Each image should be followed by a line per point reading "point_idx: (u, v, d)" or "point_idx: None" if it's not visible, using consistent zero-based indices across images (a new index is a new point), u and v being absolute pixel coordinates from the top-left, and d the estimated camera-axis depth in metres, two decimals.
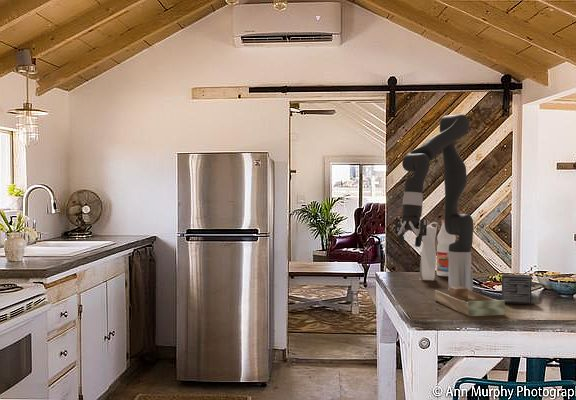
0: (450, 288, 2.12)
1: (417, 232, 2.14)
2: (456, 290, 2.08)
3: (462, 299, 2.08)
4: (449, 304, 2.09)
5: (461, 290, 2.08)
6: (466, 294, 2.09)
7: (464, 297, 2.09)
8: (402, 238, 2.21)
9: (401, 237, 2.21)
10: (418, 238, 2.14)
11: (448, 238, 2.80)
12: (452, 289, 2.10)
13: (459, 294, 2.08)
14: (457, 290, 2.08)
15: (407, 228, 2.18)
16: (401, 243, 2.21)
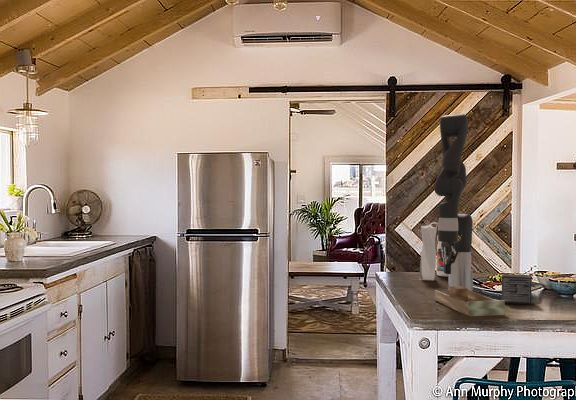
0: (450, 288, 2.12)
1: (446, 261, 2.17)
2: (456, 290, 2.08)
3: (462, 299, 2.08)
4: (449, 304, 2.09)
5: (461, 290, 2.08)
6: (466, 294, 2.09)
7: (464, 297, 2.09)
8: None
9: None
10: (447, 266, 2.18)
11: None
12: (452, 289, 2.10)
13: (459, 294, 2.08)
14: (457, 290, 2.08)
15: None
16: None
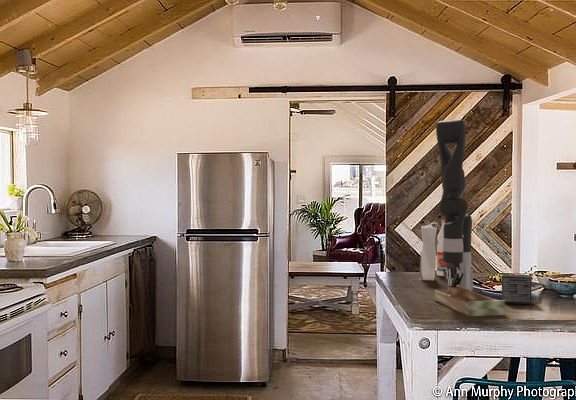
0: (451, 288, 2.11)
1: (451, 282, 2.13)
2: (457, 290, 2.07)
3: (463, 299, 2.08)
4: (449, 304, 2.09)
5: (462, 290, 2.08)
6: (467, 294, 2.08)
7: (465, 298, 2.08)
8: None
9: None
10: None
11: None
12: (453, 289, 2.09)
13: (460, 294, 2.07)
14: (458, 290, 2.07)
15: None
16: None
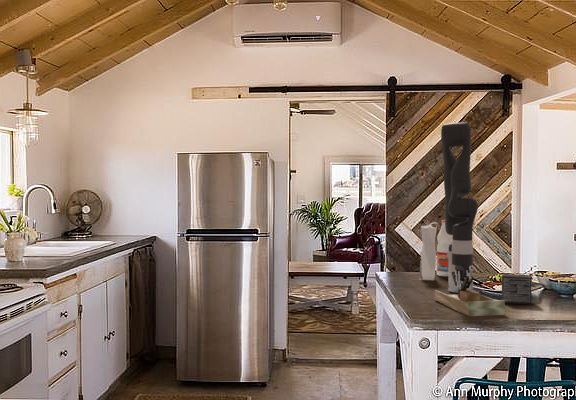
0: (461, 292, 2.04)
1: (460, 286, 2.06)
2: (467, 294, 2.00)
3: None
4: (449, 304, 2.09)
5: (473, 294, 2.00)
6: (478, 298, 2.00)
7: None
8: None
9: (461, 290, 2.08)
10: None
11: (448, 238, 2.80)
12: (463, 293, 2.02)
13: (470, 298, 2.00)
14: (468, 294, 2.00)
15: None
16: None
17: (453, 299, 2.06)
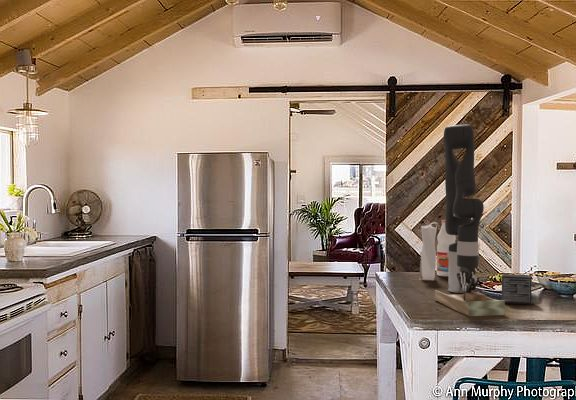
0: (466, 294, 2.00)
1: (466, 288, 2.02)
2: (473, 296, 1.96)
3: None
4: (449, 304, 2.09)
5: (478, 296, 1.96)
6: None
7: None
8: None
9: (466, 292, 2.04)
10: None
11: (448, 238, 2.80)
12: (469, 295, 1.98)
13: None
14: (474, 296, 1.96)
15: None
16: None
17: (453, 299, 2.06)
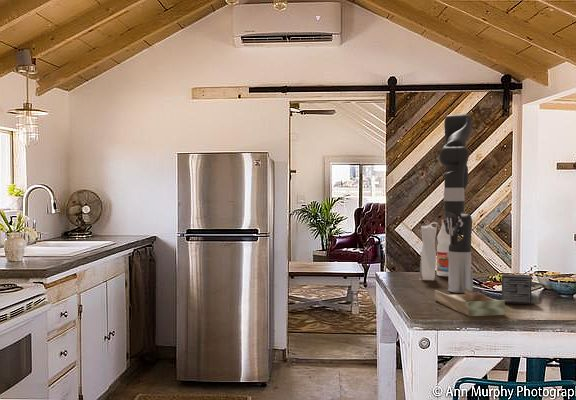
0: (466, 294, 2.00)
1: (452, 232, 2.11)
2: (473, 296, 1.96)
3: None
4: (449, 304, 2.09)
5: (478, 296, 1.96)
6: None
7: None
8: None
9: None
10: (453, 237, 2.11)
11: (448, 238, 2.80)
12: (469, 295, 1.98)
13: None
14: (474, 296, 1.96)
15: None
16: None
17: (453, 299, 2.06)
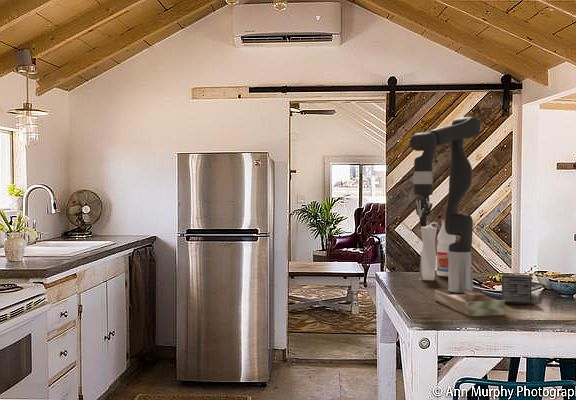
0: (466, 294, 2.00)
1: (421, 213, 2.23)
2: (473, 296, 1.96)
3: None
4: (449, 304, 2.09)
5: (478, 296, 1.96)
6: None
7: None
8: None
9: None
10: (422, 218, 2.23)
11: (448, 238, 2.80)
12: (469, 295, 1.98)
13: None
14: (474, 296, 1.96)
15: None
16: None
17: (453, 299, 2.06)
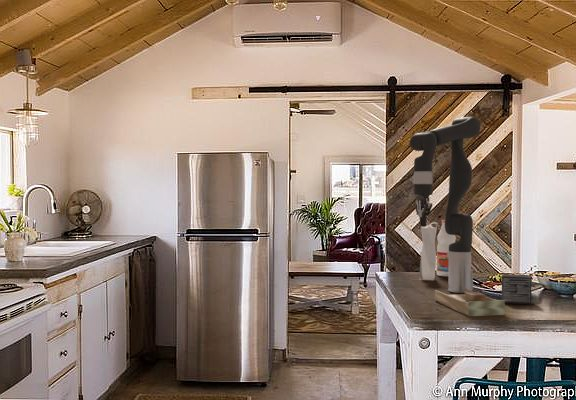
0: (466, 294, 2.00)
1: (421, 213, 2.23)
2: (473, 296, 1.96)
3: None
4: (449, 304, 2.09)
5: (478, 296, 1.96)
6: None
7: None
8: None
9: None
10: (422, 218, 2.23)
11: (448, 238, 2.80)
12: (469, 295, 1.98)
13: None
14: (474, 296, 1.96)
15: None
16: None
17: (453, 299, 2.06)
